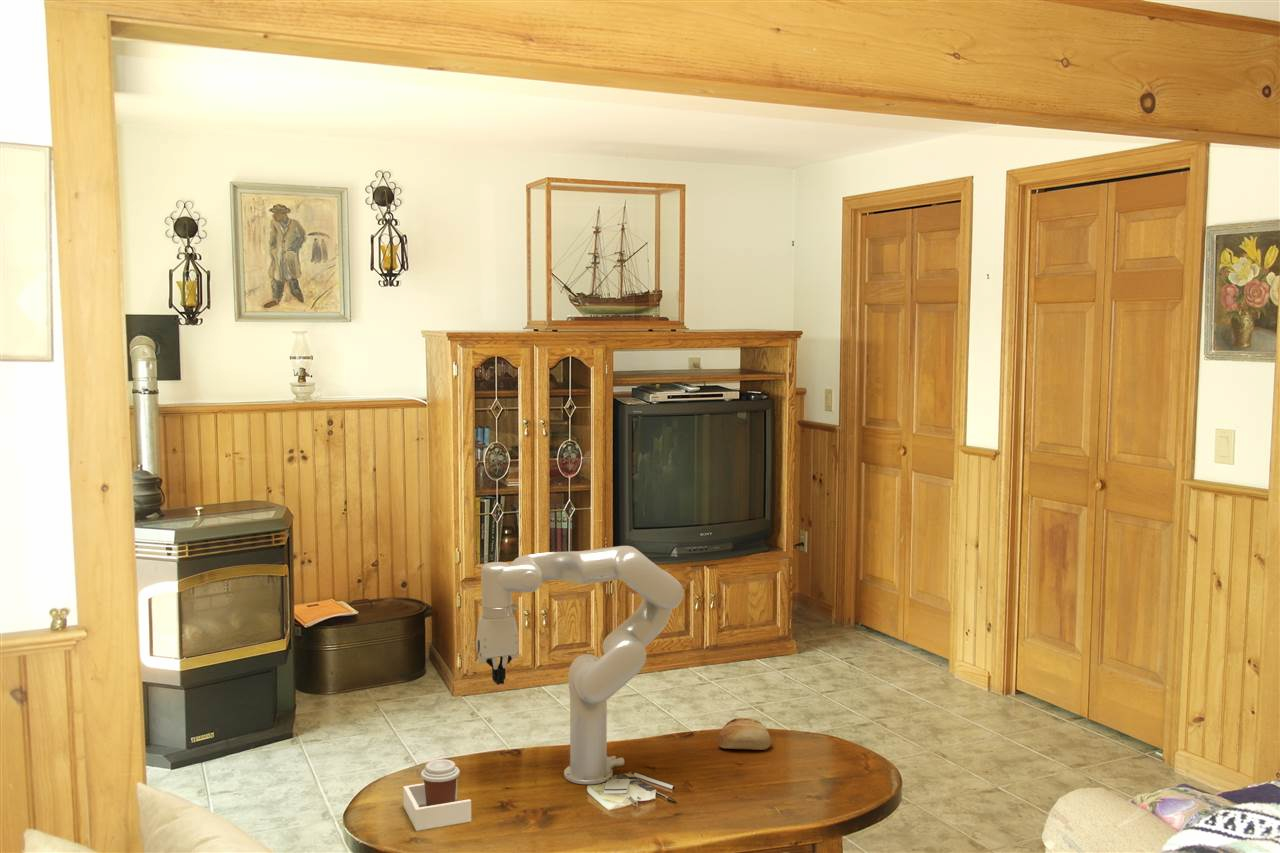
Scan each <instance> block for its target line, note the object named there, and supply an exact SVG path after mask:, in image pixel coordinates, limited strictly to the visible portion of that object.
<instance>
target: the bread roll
mask: <svg viewBox="0 0 1280 853" xmlns="http://www.w3.org/2000/svg"><path fill="white" fill-rule="evenodd" d="M717 737H718V738H717V744H718V746H719V747H720V748H722V749H729V750H732V749H733V750H754V751H755V750H756V751H757V750H758V751H764V750H768V749H769V748H770V746H772V745H771V744H772V738H771V735H770V733H769V731H768V729H767V728H766V726H765V725H764V724H763V723H762V722H760V721H759V720H757V719H754V718H749V717H738V718H734V719H731V720H730V721H728V722H727V723H726V724H725V725H724V726H723V727H722V728H721V730H720V732H719V735H718V736H717Z"/></svg>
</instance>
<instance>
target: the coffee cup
mask: <svg viewBox="0 0 1280 853" xmlns="http://www.w3.org/2000/svg"><path fill="white" fill-rule="evenodd" d="M460 774H461V770H460V769H459V767H458V766H456V762H454V761H453V760H450V759H445V758H444V759H443V758H442V759H434V760H431V761H429V762H427V763H426V764H425V766H424V769H422V770H421V772H420V777H421V778H422V780H423V783H424V786H425V796H426V805H425V807H426V806H432V805H438V804H444V803H450V802H456V800H455V795H456V782H457V783H458V777H459V776H460Z"/></svg>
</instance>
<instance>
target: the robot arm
mask: <svg viewBox="0 0 1280 853" xmlns="http://www.w3.org/2000/svg"><path fill="white" fill-rule="evenodd" d="M480 574H481V575H480V579H481V616H480V617H478V622H477V629H476V642H475V643H476V644H475V645H476V653H477V654H478V656H477V659H476V660H477V663H479V664H488V665H489V667H491V673H492V674H491V679H492V681H493V682H494V683H495V684H496V685H504V684H505V680H506V668H507V667H508V664H510V662H511V661H513V660H515V659H517V658H519V657H520V654H519V651H520V642H519V631H518V626H517V621H516V616H515V615H514V611H518V604H514V603H513V594H512V593H524V594H529V593H533V592H536V591H537V590H539V589H540V588H541V586H542V585H543V582H546V581H564V582H569V583H572V584H575V585H576V584H577V585H589V584H590V585H591V584H597V583H603V582H611V581H617V580H621V581H622V582H623V583H624V584H626V585H627V587H629V588H631V589H632V590H633V591H635V592H636V593H637V594H639V595H640V596H641V597H642V600H641V603H640V604H639V606H638V608H637V609H636V610H635V611H634V612H633V613H632V614H631V615H630V616H629V617H628V618H627V619H626V620H624V621H623V622H622V623H620V624H619V625H618V626H617V627H616V628H615V629H613V630H612V631H611V632H610V633H609V634H607V636H606V637H605V638H604V640H603V642H602V651H603V655H602V656H601V657H598V656H596V655H594V654H589V653H586V654H581V655H579V656H577V657H576V658H575V659H574V660H573V661H572V662H571V664H570V666H569V671H568V688H569V691H568V692H569V742H570V743H569V748H570V749H569V756H570V757H569V765H568V766H567V767H565V769H564V771H563V776H564V778H565V780H567V781H569V782H570V783H573V784H577V785H578V784H579V785H596V784H603V783H605V782H607V781H609V780H610V779H611V778H612V777H613V776H614V775H613V772H614V770H613V768H614V767H619V766H620V767H621V766H625V759H624V757H618V758H617V756H616V755H612V756H608V755H607V752H608V751H607V748H608V747H607V746H608V745H607V742H608V741H607V738H608V735H607V733H608V732H607V731H608V728H607V727H608V726H607V725H608V724H607V723H608V721H607V720H608V718H607V717H608V711H607V710H608V703H607V702H608V701H607V700H609V699H610V698H611V697H612V696H614V695H615V694H616V693H618V691H620V690H621V689H622V688H623V687H624V686H625V685H626V684H628V683H629V682H630V681H631V680H632V679H633V678H634V677H636V676H637V675H638V674H639V672H640V671H641V670H642V669H643V667H644V665H645V664H646V660H647V650H646V647H647V646H649V644H651V643H652V641H654V639H655V638H657V637H658V636H659V634H660V633H661V632H663V630H664V629H665V628H666V626H667V625H668V622H669V620H670V618H671V614H672V611H673V610H674V609H676V608H677V607H679V606H680V605H681V603H682V602H683V599H684V588H683V585H682V584H681V582H680V581H679V580H678V579H676V578H675V577H674V576H672V574H670V573H669V572H668V571H666V570H664V569H662V568H660V566H658V565H657V564H656V563H655V562H653V561H651V559H650V558H648V557H647V556H646V555H645V554H643V552H642V551H639V550H638V549H637V548H635V546H632V545H631V546H630V545H618V546H613V547H612V546H610V547H603V548H596V549H587V550H579V551H575V550H574V551H571V550H570V551H549V552H540V553H539V552H538V553H532V554H526V555H520V556H519V557H518V556H517V557H516V558H514V560H512V562H511V563H510V564H509V563H507V562H503V561H491V562H487V563H485V564H483V565H482V567H481V569H480ZM498 658H499V660H498ZM609 778H610V779H609ZM608 779H609V780H608ZM606 780H607V781H606Z"/></svg>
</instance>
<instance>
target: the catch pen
mask: <svg viewBox="0 0 1280 853" xmlns="http://www.w3.org/2000/svg"><path fill="white" fill-rule="evenodd" d="M456 800H457V801H456ZM424 805H425V806H424ZM420 806H421V807H420ZM403 808H404V811H405V812H406V814H407V816H408V818H409V820H410V822H411V824H412V825H413V828H414V829H415V831H416V832H417V831H424V830H429V829H435V828H442V827H447V826H453V825H458V824H465V823H469V822H472V800H471V799H464V800H463V799H462V800H458V781H457V782H456V795H455V802H450V803H444V804H438V805H432V806H426V796H425V786H424V782H423V783H417V784H410V785H405V786H404V785H403Z"/></svg>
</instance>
